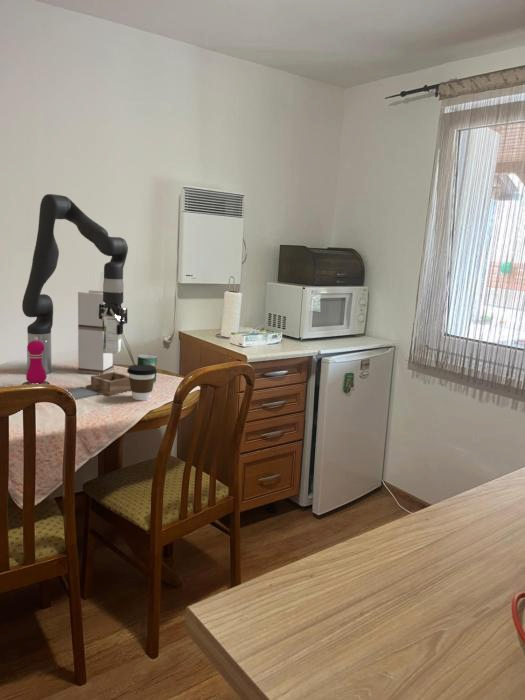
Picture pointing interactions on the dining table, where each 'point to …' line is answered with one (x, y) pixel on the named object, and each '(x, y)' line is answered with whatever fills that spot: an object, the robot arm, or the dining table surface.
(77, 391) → the mat
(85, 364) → the banded white pillar
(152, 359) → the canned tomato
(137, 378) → the coffee cup
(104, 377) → the wooden tray
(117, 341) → the syrup box
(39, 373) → the pepper mill
